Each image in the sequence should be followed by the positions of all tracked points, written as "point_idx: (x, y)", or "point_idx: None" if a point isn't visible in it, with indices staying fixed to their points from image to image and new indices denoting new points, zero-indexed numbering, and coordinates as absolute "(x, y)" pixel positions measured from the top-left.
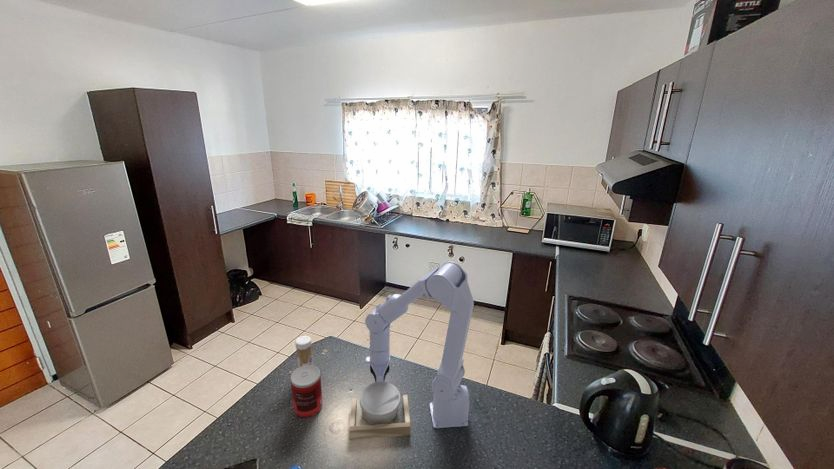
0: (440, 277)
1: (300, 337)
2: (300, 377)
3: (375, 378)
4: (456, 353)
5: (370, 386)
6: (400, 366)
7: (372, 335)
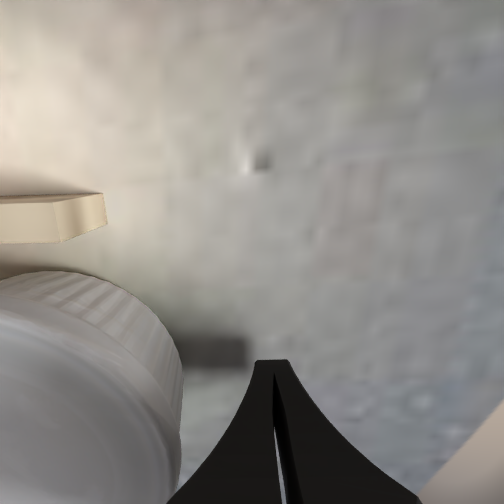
0: None
1: None
2: None
3: (239, 415)
4: None
5: (106, 394)
6: (432, 466)
7: None
